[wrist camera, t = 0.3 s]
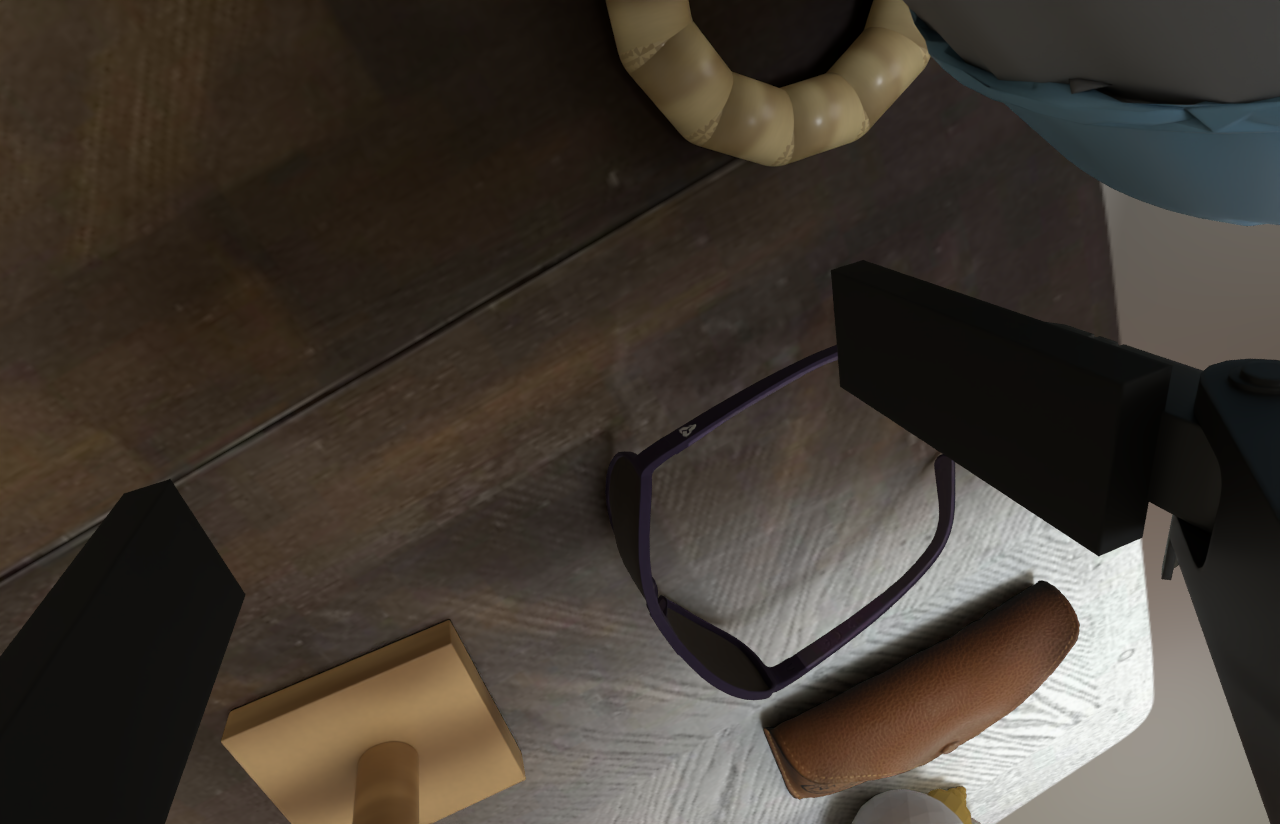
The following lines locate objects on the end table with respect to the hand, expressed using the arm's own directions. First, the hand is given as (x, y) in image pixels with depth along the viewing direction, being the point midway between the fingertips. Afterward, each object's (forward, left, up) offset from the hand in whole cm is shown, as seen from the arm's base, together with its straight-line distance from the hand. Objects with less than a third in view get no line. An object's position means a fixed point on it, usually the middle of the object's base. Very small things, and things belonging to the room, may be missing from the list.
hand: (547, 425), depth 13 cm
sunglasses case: (+30, +15, -12) cm, 35 cm away
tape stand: (+17, -11, -11) cm, 23 cm away
